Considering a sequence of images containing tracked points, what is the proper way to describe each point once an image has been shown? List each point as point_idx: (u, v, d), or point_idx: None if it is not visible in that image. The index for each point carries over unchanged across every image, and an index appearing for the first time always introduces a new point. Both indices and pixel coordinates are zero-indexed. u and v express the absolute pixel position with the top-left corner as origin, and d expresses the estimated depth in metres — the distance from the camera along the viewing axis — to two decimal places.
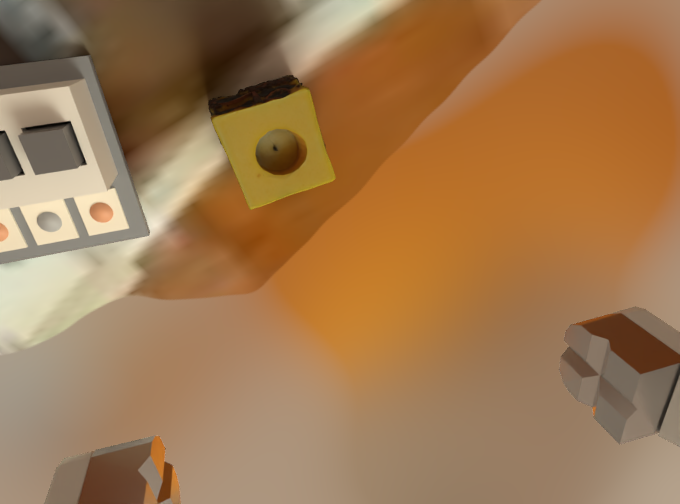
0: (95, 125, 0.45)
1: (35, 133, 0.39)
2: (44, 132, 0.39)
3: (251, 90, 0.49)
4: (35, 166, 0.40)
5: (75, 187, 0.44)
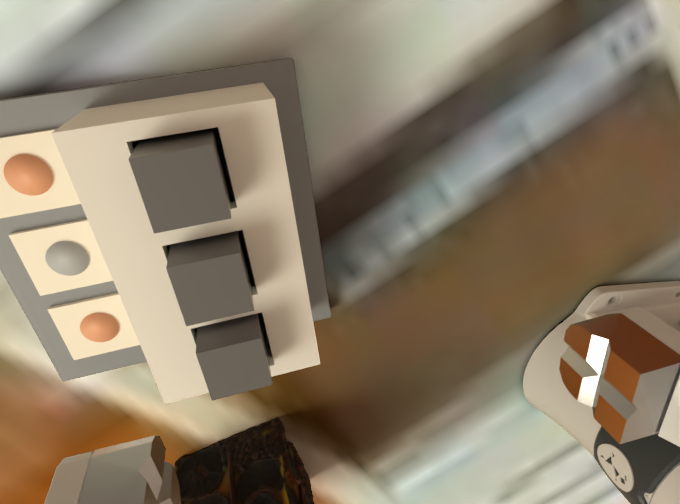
0: None
1: (264, 355, 0.26)
2: (266, 365, 0.26)
3: (297, 467, 0.41)
4: (212, 354, 0.25)
5: (167, 368, 0.27)
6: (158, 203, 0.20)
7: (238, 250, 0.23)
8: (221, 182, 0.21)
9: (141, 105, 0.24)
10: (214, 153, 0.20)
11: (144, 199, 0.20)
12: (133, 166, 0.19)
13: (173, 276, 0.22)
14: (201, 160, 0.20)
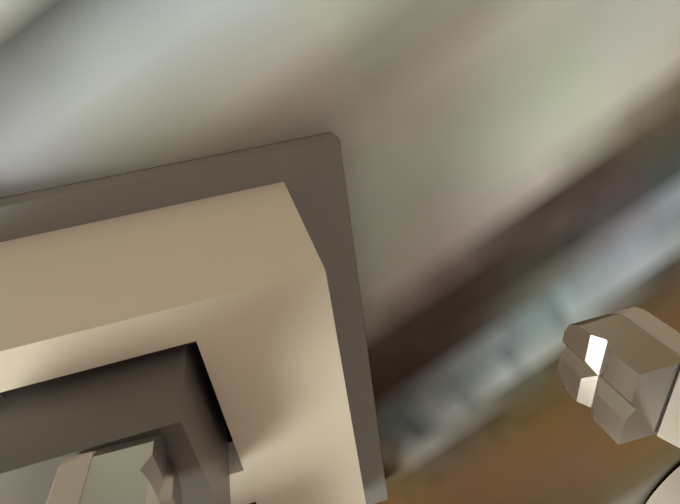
0: None
1: None
2: None
3: None
4: None
5: None
6: None
7: None
8: (206, 484, 0.09)
9: (43, 257, 0.12)
10: (185, 436, 0.08)
11: None
12: None
13: None
14: None
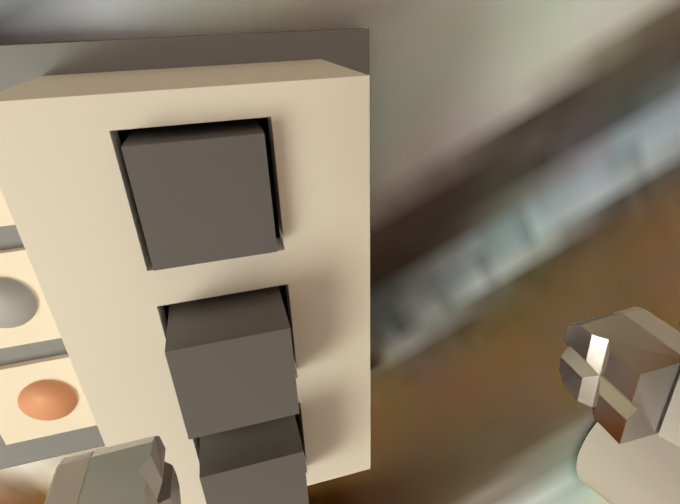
0: None
1: None
2: (305, 488, 0.17)
3: None
4: (225, 478, 0.16)
5: None
6: (165, 223, 0.12)
7: (286, 323, 0.14)
8: (269, 195, 0.13)
9: (136, 75, 0.15)
10: (264, 148, 0.12)
11: (142, 215, 0.12)
12: (128, 160, 0.11)
13: (176, 364, 0.13)
14: (242, 158, 0.12)
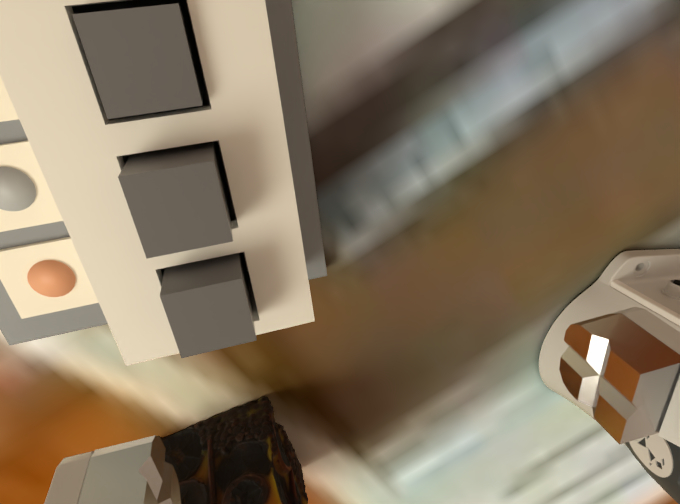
0: None
1: (246, 302, 0.21)
2: (249, 315, 0.21)
3: (288, 453, 0.36)
4: (180, 298, 0.20)
5: (128, 320, 0.22)
6: (111, 79, 0.17)
7: (212, 159, 0.18)
8: (189, 56, 0.17)
9: None
10: (180, 15, 0.16)
11: (94, 72, 0.17)
12: (78, 25, 0.16)
13: (128, 188, 0.17)
14: (164, 24, 0.16)
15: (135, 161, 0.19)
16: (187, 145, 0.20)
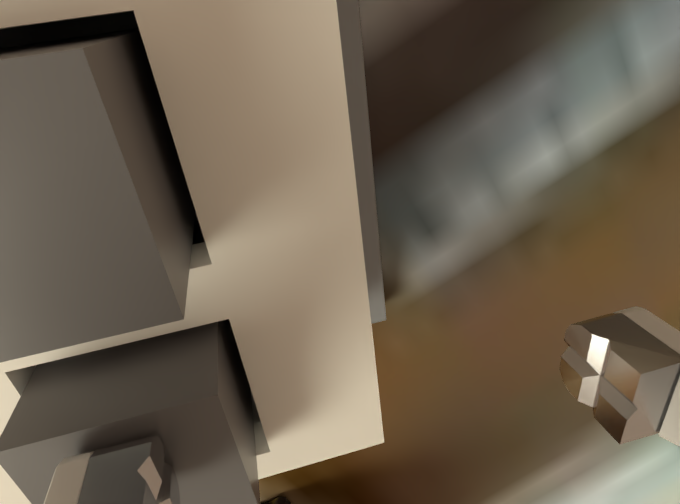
0: None
1: (233, 442, 0.08)
2: (241, 469, 0.09)
3: None
4: (54, 452, 0.07)
5: None
6: None
7: (82, 46, 0.05)
8: None
9: None
10: None
11: None
12: None
13: None
14: None
15: None
16: (59, 42, 0.07)
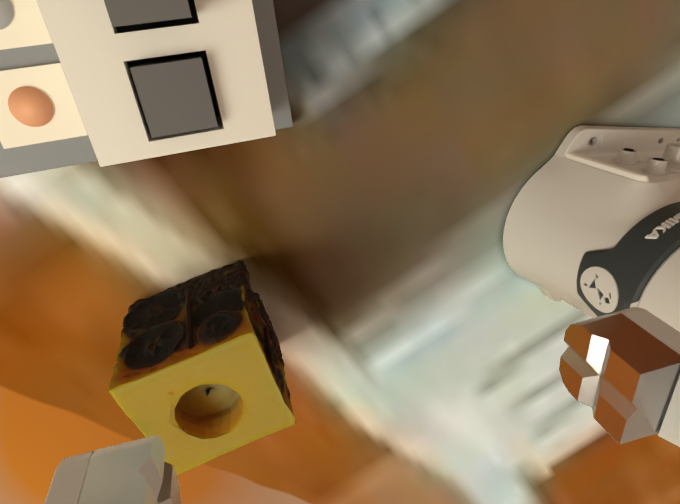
0: None
1: (207, 85, 0.24)
2: (210, 99, 0.25)
3: (264, 316, 0.38)
4: (148, 72, 0.23)
5: (100, 115, 0.24)
6: None
7: None
8: None
9: None
10: None
11: None
12: None
13: None
14: None
15: None
16: None
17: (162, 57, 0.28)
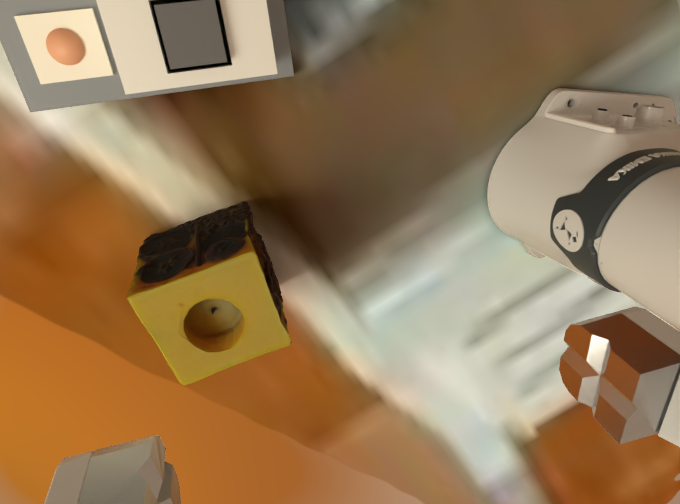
0: None
1: (218, 24, 0.28)
2: (221, 36, 0.29)
3: (265, 254, 0.42)
4: (169, 10, 0.27)
5: (127, 48, 0.28)
6: None
7: None
8: None
9: None
10: None
11: None
12: None
13: None
14: None
15: None
16: None
17: None
